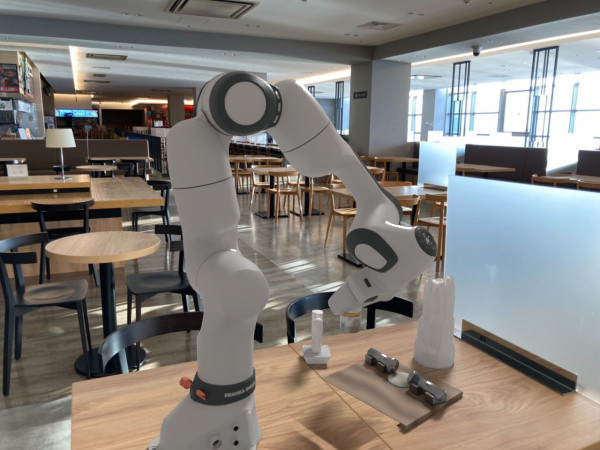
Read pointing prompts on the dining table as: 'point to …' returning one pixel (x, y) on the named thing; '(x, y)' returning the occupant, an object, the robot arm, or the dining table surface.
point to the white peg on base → (316, 342)
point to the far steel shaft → (381, 361)
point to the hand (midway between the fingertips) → (348, 309)
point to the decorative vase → (436, 325)
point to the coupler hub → (351, 321)
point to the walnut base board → (390, 392)
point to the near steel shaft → (426, 389)
